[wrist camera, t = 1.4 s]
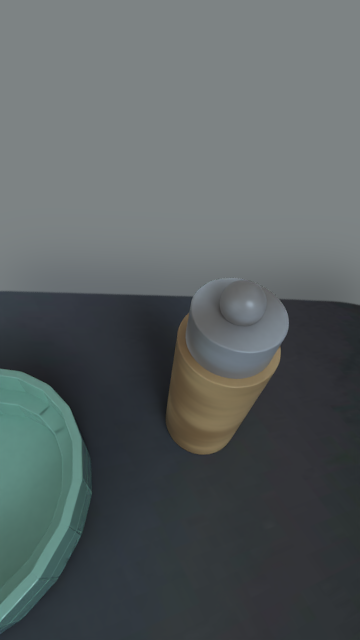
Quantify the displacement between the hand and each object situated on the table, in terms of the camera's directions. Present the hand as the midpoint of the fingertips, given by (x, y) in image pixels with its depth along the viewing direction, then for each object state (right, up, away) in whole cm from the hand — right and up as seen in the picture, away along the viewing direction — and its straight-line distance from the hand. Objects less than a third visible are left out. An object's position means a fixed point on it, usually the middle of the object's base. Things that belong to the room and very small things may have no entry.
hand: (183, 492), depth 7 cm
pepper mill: (+1, -4, +16) cm, 17 cm away
